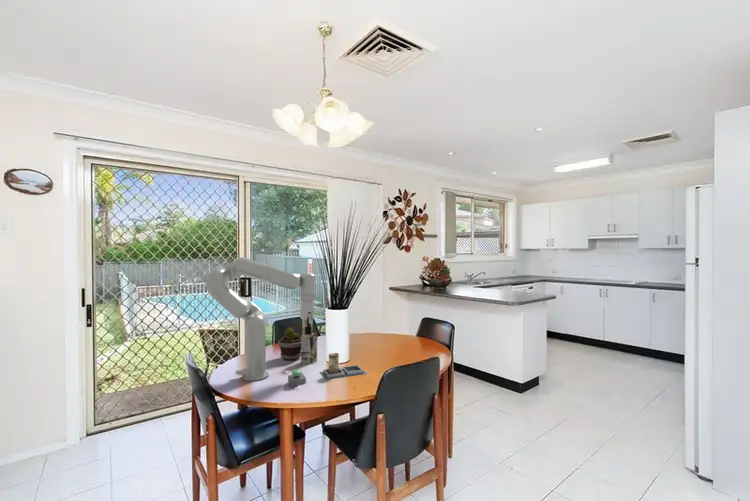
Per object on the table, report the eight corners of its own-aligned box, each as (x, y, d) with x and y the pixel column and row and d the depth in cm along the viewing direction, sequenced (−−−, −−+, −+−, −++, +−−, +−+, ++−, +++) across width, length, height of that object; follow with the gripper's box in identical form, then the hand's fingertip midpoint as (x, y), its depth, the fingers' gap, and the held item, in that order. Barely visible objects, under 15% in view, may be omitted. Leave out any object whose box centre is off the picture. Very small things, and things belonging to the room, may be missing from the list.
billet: (303, 338, 183) (303, 317, 183) (301, 335, 188) (301, 315, 188) (313, 337, 185) (313, 317, 185) (310, 335, 190) (311, 315, 190)
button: (293, 381, 168) (293, 373, 168) (291, 378, 172) (291, 370, 172) (302, 380, 170) (302, 372, 170) (300, 377, 174) (300, 369, 174)
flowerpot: (282, 354, 220) (282, 321, 220) (307, 355, 218) (307, 322, 218) (273, 361, 205) (273, 326, 205) (300, 362, 204) (300, 327, 204)
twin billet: (330, 376, 178) (330, 355, 178) (327, 373, 183) (327, 352, 183) (340, 375, 180) (340, 354, 180) (336, 372, 185) (337, 351, 185)
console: (290, 387, 167) (290, 380, 167) (288, 382, 173) (288, 375, 173) (305, 385, 169) (305, 378, 169) (302, 380, 176) (302, 373, 176)
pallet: (325, 382, 174) (325, 376, 174) (318, 374, 185) (318, 369, 185) (367, 376, 182) (367, 370, 182) (359, 369, 193) (359, 363, 193)
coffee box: (311, 365, 199) (311, 336, 199) (300, 364, 200) (300, 335, 200) (317, 360, 208) (317, 332, 208) (307, 359, 209) (307, 332, 209)
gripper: (297, 295, 193) (296, 330, 192) (303, 300, 177) (303, 337, 177) (310, 295, 196) (310, 329, 195) (319, 299, 180) (318, 336, 180)
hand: (307, 332), depth 186 cm, fingers closed on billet, 5 cm apart
